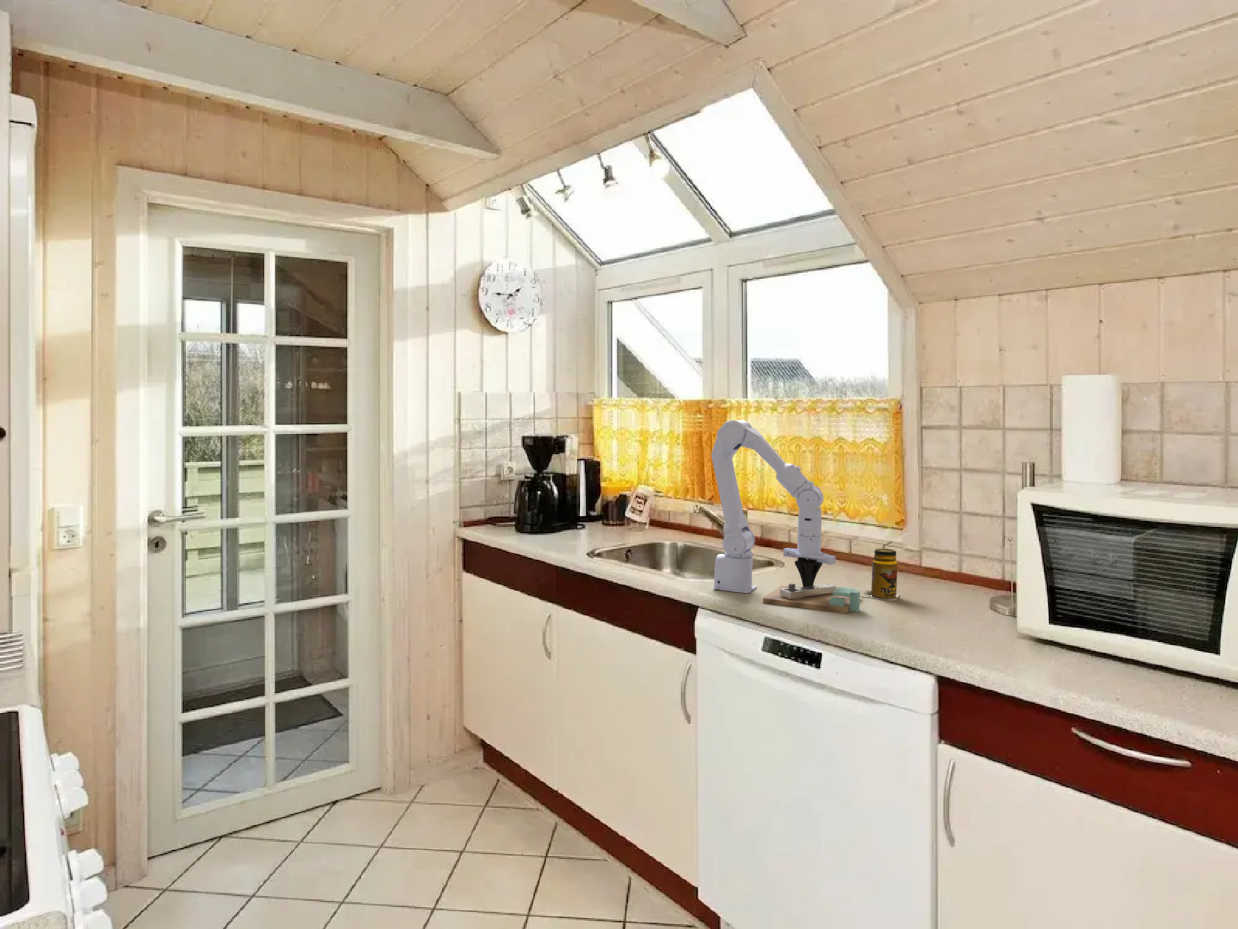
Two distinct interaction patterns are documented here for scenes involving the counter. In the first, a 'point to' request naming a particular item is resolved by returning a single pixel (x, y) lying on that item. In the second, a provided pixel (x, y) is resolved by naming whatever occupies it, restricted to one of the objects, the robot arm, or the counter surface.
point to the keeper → (846, 592)
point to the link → (807, 591)
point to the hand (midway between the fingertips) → (807, 588)
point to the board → (807, 600)
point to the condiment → (883, 575)
